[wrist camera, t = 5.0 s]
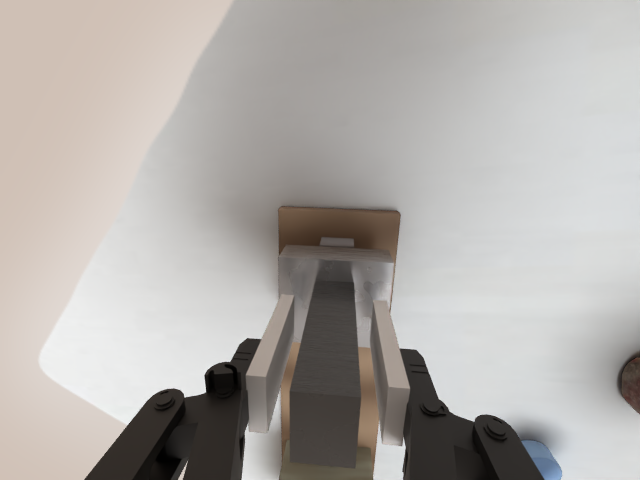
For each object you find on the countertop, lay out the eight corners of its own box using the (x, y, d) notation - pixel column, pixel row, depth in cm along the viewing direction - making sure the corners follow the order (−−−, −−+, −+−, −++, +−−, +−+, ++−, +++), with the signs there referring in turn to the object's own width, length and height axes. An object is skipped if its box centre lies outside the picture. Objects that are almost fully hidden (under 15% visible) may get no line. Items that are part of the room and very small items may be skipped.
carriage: (286, 244, 21) (219, 351, 10) (388, 249, 20) (438, 367, 9) (286, 320, 23) (230, 483, 12) (381, 327, 22) (415, 502, 11)
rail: (281, 206, 24) (238, 245, 14) (397, 211, 23) (434, 254, 14) (284, 482, 32) (259, 621, 23) (369, 491, 32) (379, 638, 22)
